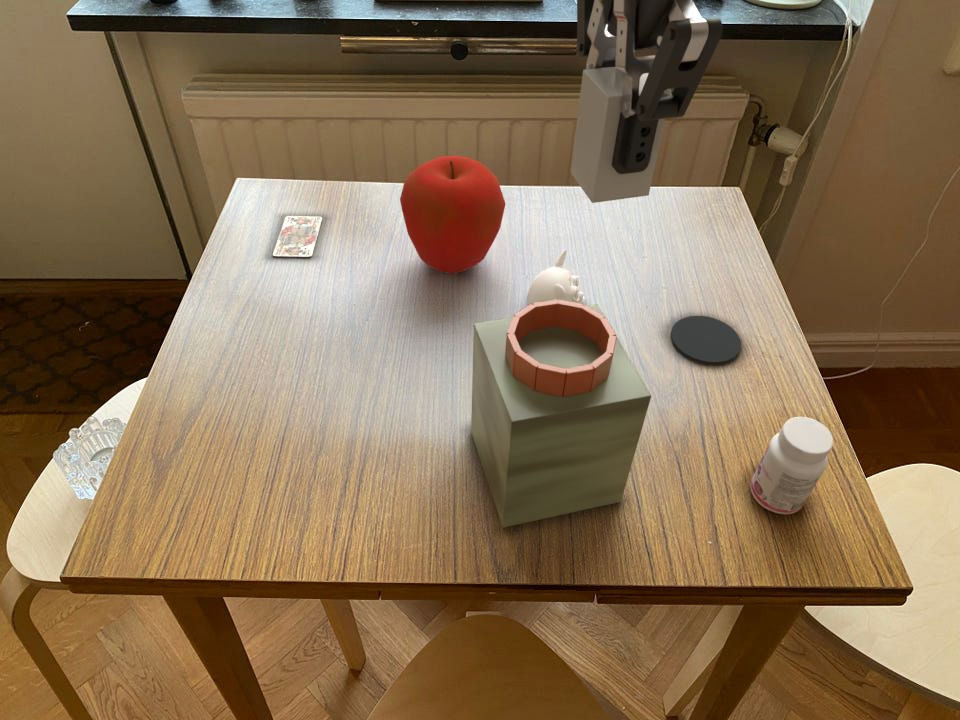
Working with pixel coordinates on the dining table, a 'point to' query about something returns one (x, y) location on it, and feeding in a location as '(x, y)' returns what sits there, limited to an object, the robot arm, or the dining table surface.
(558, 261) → the figurine
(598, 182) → the block
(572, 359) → the stand
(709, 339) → the coaster
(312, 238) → the playing card
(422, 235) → the apple
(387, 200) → the dining table surface
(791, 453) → the pill bottle
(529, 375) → the segmented terracotta ring
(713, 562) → the dining table surface
